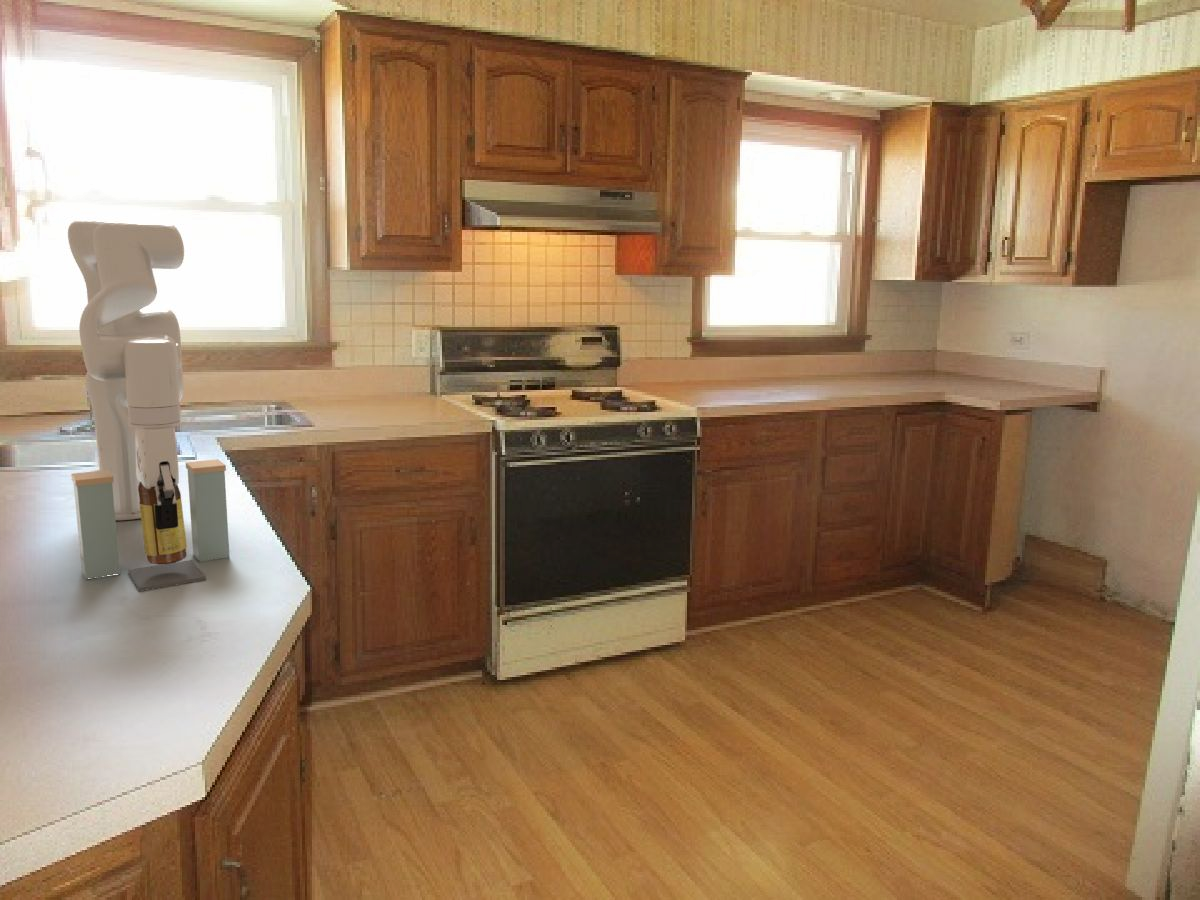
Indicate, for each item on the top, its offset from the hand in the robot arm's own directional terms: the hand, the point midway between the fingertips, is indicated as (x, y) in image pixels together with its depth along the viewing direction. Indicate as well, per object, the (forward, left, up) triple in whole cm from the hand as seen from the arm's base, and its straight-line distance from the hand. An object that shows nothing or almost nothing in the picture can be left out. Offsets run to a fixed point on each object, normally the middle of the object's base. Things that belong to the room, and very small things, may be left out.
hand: (162, 521), depth 145 cm
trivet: (0, 0, -9) cm, 9 cm away
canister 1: (-8, -9, -10) cm, 15 cm away
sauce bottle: (0, 0, -7) cm, 7 cm away
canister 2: (-8, +9, -10) cm, 15 cm away
